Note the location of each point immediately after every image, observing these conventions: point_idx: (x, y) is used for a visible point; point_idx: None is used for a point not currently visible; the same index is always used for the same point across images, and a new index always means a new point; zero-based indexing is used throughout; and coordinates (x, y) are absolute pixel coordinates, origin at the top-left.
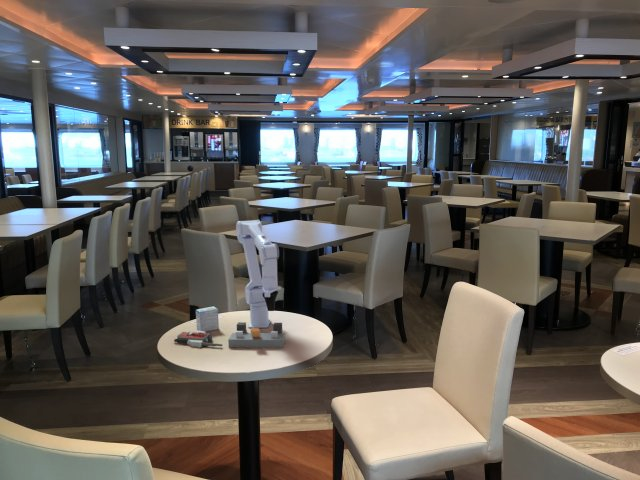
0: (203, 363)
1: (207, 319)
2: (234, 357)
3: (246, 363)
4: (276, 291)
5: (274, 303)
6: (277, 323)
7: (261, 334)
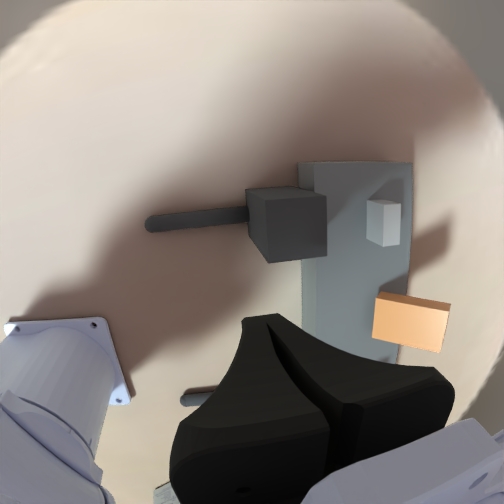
0: (466, 382)
1: None
2: (453, 327)
3: (492, 270)
4: (240, 471)
5: (312, 342)
6: (288, 233)
7: (336, 302)
